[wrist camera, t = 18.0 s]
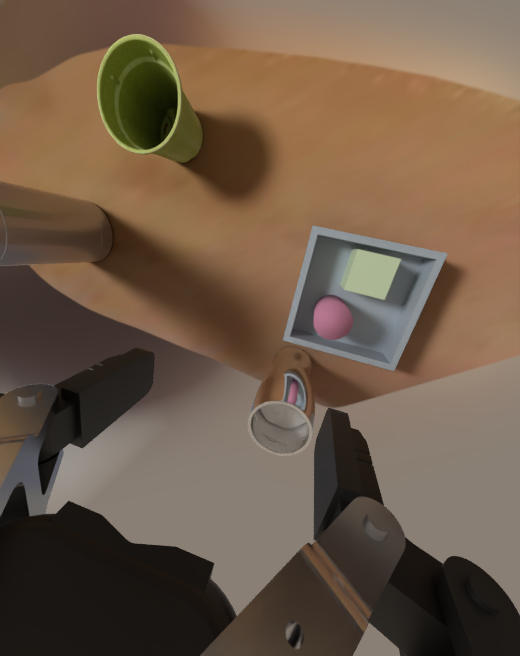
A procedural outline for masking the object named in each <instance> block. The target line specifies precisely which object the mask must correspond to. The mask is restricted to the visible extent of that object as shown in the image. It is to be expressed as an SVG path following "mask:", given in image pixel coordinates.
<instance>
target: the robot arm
mask: <svg viewBox="0 0 520 656" xmlns="http://www.w3.org/2000/svg"><path fill="white" fill-rule="evenodd" d="M112 242H113V235H112V229H111V225H110V223H109V220H108V218H107V217H106V215H105V214H104V212H103V211H102V210H101V209H100V208H99V207H98V206H96V205H95V204H93V203H91V202H89V201H84V200H80V199H76V198H71V197H67V196H63V195H59V194H54V193H50V192H46V191H41V190H37V189H32V188H28V187H23V186H19V185H15V184H10V183H6V182H1V181H0V266H6V265H31V264H55V263H80V262H97V261H101V260H103V259H104V258H105V257H106V256H107V255H108V254H109V252H110V250H111V247H112ZM153 373H154V354H153V353H152V352H150V351H146V350H143V349H140V348H134V349H132V350H130V351H128V352H127V353H125V354H123V355H118V356H114V357H110V358H107V359H105V360H103V361H101V362H100V363H98V364H97V365H94V366H92V367H90V368H89V369H86V370H84V371H82V372H80V373H78V374H76V375H74V376H72V377H70V378H68V379H66V380H64V381H62V382H60V383H58V384H57V385H54V386H52V385H48V384H31V385H26V386H22V387H19V388H16V389H13V390H12V391H9V392H8V393H6V394H1V393H0V656H353V654H354V652H355V650H356V648H357V646H358V644H359V642H360V640H361V638H362V636H363V634H364V632H365V630H366V628H367V626H368V624H369V623H371V624H372V625H373V626H374V627H375V628H376V629H377V630H379V631H380V632H381V633H382V634H383V635H384V636H386V637H387V638H388V639H389V640H390V641H391V642H392V643H393V644H395V645H396V646H397V647H398V648H399V651H400V656H520V615H519V613H518V611H517V609H516V608H515V606H514V604H513V603H512V601H511V600H510V598H509V597H508V596H507V594H506V593H505V592H504V591H503V589H502V588H501V587H500V586H499V585H498V584H497V583H496V582H495V580H494V579H493V578H492V577H490V576H489V575H488V574H487V573H486V572H485V571H484V570H482V569H481V568H480V567H478V566H477V565H476V564H474V563H472V562H471V561H469V560H467V559H464V558H461V557H457V556H451V557H449V558H448V559H447V560H446V561H445V562H444V563H443V564H442V563H441V562H439V561H438V560H436V559H435V558H433V557H432V556H430V555H429V554H428V553H426V552H425V551H423V550H422V549H420V548H419V547H417V546H416V545H414V544H413V543H412V542H410V541H409V540H408V539H407V538H406V537H405V535H404V532H403V530H402V527H401V525H400V524H399V522H398V521H397V519H396V518H395V516H394V515H393V514H392V513H391V512H390V511H389V510H388V509H387V508H386V507H385V506H384V504H383V501H382V497H381V493H380V489H379V486H378V482H377V479H376V474H375V471H374V467H373V466H372V460H371V456H370V452H369V448H368V445H367V442H366V440H365V439H364V437H363V436H362V434H361V433H360V432H359V430H356V429H353V428H351V426H350V421H349V417H348V414H347V413H344V412H341V411H338V410H335V409H331V408H328V410H327V412H326V414H325V417H324V420H323V423H322V426H321V428H320V431H319V433H318V436H317V439H316V444H315V452H314V540H316V541H315V542H314V543H313V544H312V545H311V544H309V543H307V544H306V545H304V546H303V547H302V548H301V549H300V550H299V551H298V552H297V553H296V554H295V555H294V556H293V557H292V559H291V560H290V561H289V562H288V563H287V564H286V565H285V566H284V567H283V568H282V569H281V570H280V571H279V572H278V573H277V574H276V576H275V577H274V578H273V579H272V580H271V581H270V582H269V583H268V584H267V585H266V586H265V587H264V588H263V589H262V590H261V591H260V592H259V594H258V595H257V596H256V597H255V598H254V599H253V600H252V601H251V602H250V603H249V604H248V605H247V606H246V607H245V608H244V609H243V610H242V612H241V613H240V614H239V615H238V616H236V613H235V611H234V609H233V607H232V605H231V604H230V602H229V601H228V599H227V597H226V596H225V594H224V593H223V592H222V590H221V589H220V588H219V587H218V586H217V584H216V583H214V582H213V581H212V580H211V575H212V570H213V566H214V563H213V562H210V561H208V560H206V559H203V558H201V557H199V556H196V555H194V554H191V553H189V552H187V551H185V550H182V549H180V548H178V547H171V546H159V545H147V544H135V543H131V542H129V541H128V540H126V539H125V538H124V537H123V536H122V535H121V534H120V533H119V532H118V531H117V530H116V529H115V528H114V527H113V526H112V525H111V524H110V523H109V522H108V521H107V520H106V519H105V518H104V517H103V516H102V515H101V514H98V513H96V512H94V511H91V510H89V509H87V508H84V507H82V506H79V505H77V504H75V503H73V502H70V501H68V502H67V503H66V504H65V505H64V506H63V507H62V508H61V509H60V510H59V511H58V513H56V514H46V509H47V504H48V500H49V498H50V494H51V491H52V488H53V485H54V482H55V479H56V476H57V473H58V469H59V466H60V463H61V460H62V457H63V448H64V447H66V446H67V445H68V444H69V443H71V444H73V445H75V446H78V447H80V448H83V447H85V446H86V445H87V444H88V443H89V442H90V441H92V440H93V439H94V438H95V437H97V436H98V435H99V434H100V433H101V432H102V431H104V430H105V429H106V428H107V427H108V426H110V425H111V424H112V423H113V422H114V421H116V420H117V419H118V418H119V417H120V416H121V415H123V414H124V413H125V412H126V411H128V410H129V409H130V408H131V407H132V406H133V405H135V404H136V403H137V402H138V401H139V400H141V399H142V398H143V397H144V396H145V395H146V394H147V393H148V392H149V390H150V389H151V386H152V383H153Z"/></svg>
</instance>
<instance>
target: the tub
mask: <svg viewBox="0 0 520 656" xmlns="http://www.w3.org/2000/svg"><path fill="white" fill-rule="evenodd" d="M353 249H360V250H364V251H369V252H373V253H377V254H382V255H386V256H390V257H395V258H399V259H401V261H400V263H399V266H398V268H397V271H396V273H395V276H394V278H393V281H392V283H391V286H390V288H389V290H388V293H387V295H386V298H385V300H382V299H378V298H374V297H371V296H367V295H363V294H359V293H355V292H351V291H347V290H344V289H343V288H342V286H341V285H340V284H341V281H342V278H343V275H344V272H345V269H346V266H347V263H348V260H349V257H350V254H351V251H352V250H353ZM446 256H447V253H442V252H438V251H433V250H428V249H423V248H418V247H414V246H409V245H404V244H399V243H394V242H390V241H385V240H380V239H375V238H370V237H365V236H361V235H356V234H351V233H346V232H341V231H337V230H332V229H327V228H322V227H317V226H313V227H312V231H311V234H310V238H309V242H308V246H307V250H306V253H305V257H304V261H303V265H302V269H301V273H300V276H299V280H298V284H297V288H296V292H295V295H294V299H293V303H292V307H291V311H290V314H289V318H288V322H287V326H286V330H285V334H284V337H283V340H284V341H287V342H291V343H294V344H298V345H302V346H305V347H309V348H312V349H316V350H320V351H323V352H327V353H330V354H334V355H337V356H341V357H345V358H348V359H352V360H355V361H359V362H363V363H366V364H370V365H373V366H377V367H380V368H384V369H388V370H391V371H394V370H395V368H396V366H397V364H398V362H399V359H400V357H401V355H402V353H403V351H404V349H405V346H406V344H407V342H408V340H409V338H410V335H411V333H412V331H413V329H414V327H415V324H416V322H417V320H418V318H419V316H420V313H421V311H422V309H423V307H424V305H425V302H426V300H427V298H428V296H429V294H430V292H431V289H432V287H433V285H434V283H435V281H436V278H437V276H438V274H439V272H440V270H441V267H442V265H443V263H444V261H445V259H446ZM326 295H336V296H338V297H340V298H341V299H343V301H344V302H345V304H346V305H347V307H348V309H349V310H350V312H351V314H352V317H353V326H352V328H351V330H350V332H349V333H348V334H347V335H346V336H344V337H343V338H341V339H337V340H328V339H325V338H323V337H321V336H320V335H319V334H318V333H317V332H316V330H315V328H314V306H315V304H316V302H317V301H318V300H319V299H320V298H321V297H323V296H326Z"/></svg>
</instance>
